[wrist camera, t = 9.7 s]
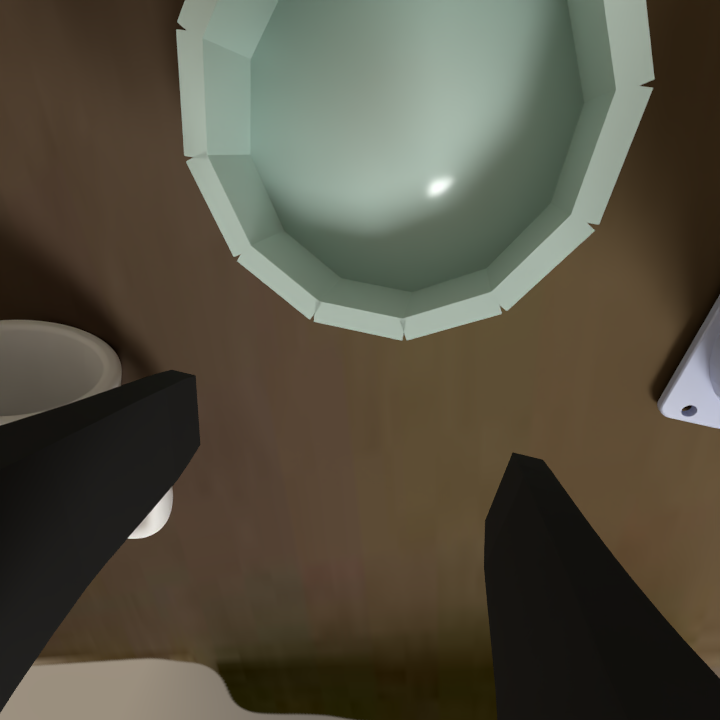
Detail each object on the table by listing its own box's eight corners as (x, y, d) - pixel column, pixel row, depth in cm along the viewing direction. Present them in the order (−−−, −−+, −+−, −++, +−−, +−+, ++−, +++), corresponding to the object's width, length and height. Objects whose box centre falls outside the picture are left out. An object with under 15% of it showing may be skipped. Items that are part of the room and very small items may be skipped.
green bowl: (683, -109, 11) (772, -213, 8) (526, 330, 17) (541, 370, 14) (233, -137, 12) (158, -232, 9) (238, 271, 18) (193, 295, 15)
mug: (34, 434, 27) (-116, 533, 20) (22, 301, 22) (-181, 370, 15) (200, 508, 26) (106, 635, 20) (226, 389, 22) (114, 502, 15)
